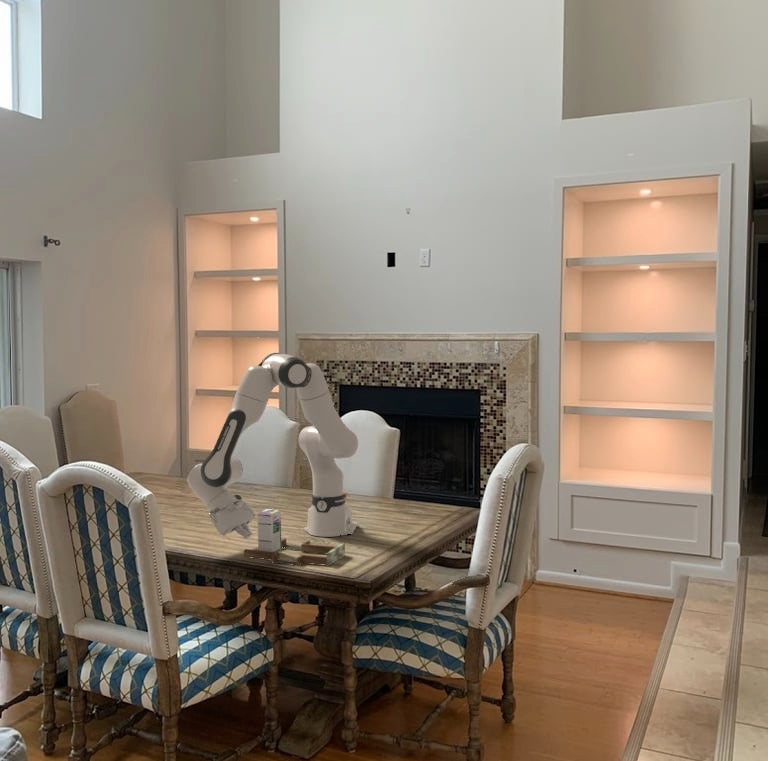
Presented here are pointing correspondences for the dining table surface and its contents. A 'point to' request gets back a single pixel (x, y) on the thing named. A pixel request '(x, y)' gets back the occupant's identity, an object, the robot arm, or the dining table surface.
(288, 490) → the dining table surface
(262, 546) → the syrup box
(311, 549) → the trap lane
